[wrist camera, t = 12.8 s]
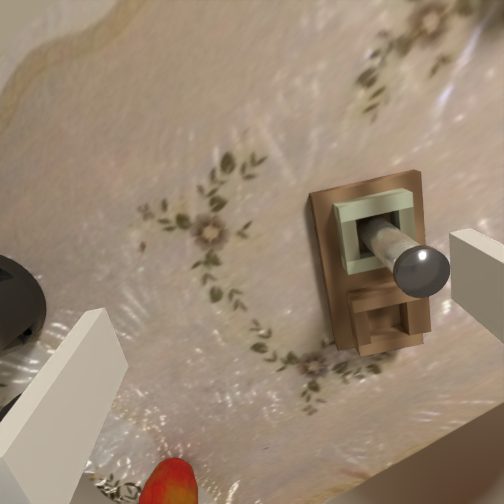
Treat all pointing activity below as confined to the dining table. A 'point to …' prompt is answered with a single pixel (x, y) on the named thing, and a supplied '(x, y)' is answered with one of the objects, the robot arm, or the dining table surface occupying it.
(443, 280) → the lock pin
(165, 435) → the dining table surface
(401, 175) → the socket board
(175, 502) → the apple
